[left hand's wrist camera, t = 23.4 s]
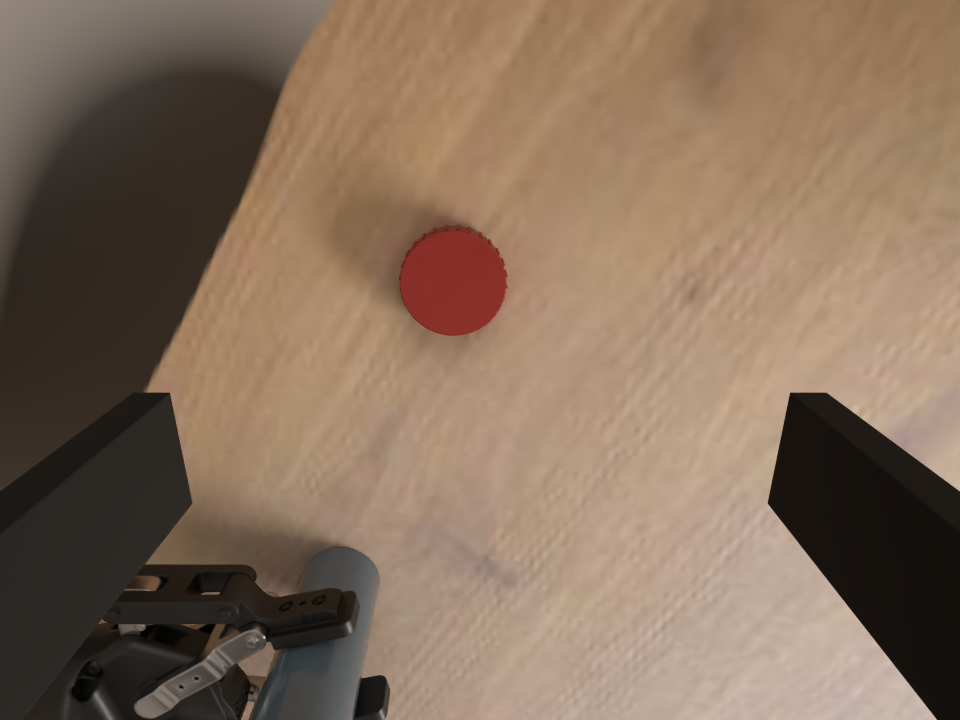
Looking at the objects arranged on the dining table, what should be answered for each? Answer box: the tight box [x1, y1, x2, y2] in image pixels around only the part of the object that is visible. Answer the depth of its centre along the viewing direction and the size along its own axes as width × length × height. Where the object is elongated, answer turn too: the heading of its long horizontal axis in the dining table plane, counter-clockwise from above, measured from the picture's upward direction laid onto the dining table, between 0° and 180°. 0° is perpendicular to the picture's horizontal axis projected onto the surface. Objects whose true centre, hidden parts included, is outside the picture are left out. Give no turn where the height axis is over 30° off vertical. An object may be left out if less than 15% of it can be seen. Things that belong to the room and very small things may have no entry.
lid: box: [399, 225, 507, 336], centre depth 27 cm, size 5×5×2 cm
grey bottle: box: [250, 548, 379, 720], centre depth 27 cm, size 4×4×15 cm
